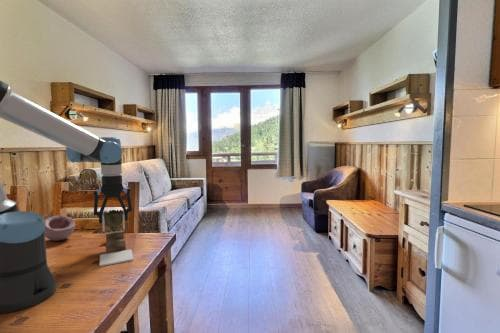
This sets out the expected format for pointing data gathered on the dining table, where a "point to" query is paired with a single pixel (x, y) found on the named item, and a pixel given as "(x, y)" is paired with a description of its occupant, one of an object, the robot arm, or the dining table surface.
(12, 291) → the robot arm
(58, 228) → the pink bowl
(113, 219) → the cup
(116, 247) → the walnut slot holder
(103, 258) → the ceramic tile
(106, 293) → the dining table surface
